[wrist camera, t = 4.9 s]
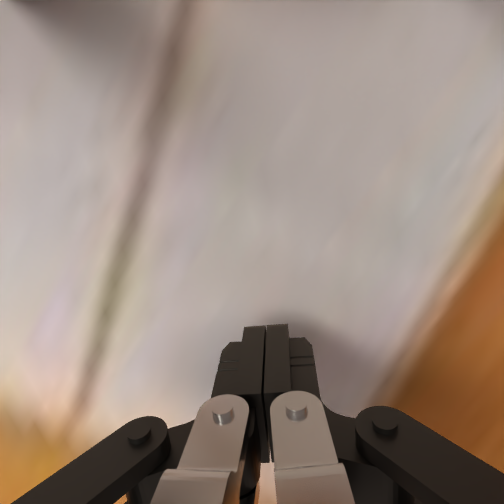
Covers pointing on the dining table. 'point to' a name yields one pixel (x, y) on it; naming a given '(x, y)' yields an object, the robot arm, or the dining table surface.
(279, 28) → the dining table surface
